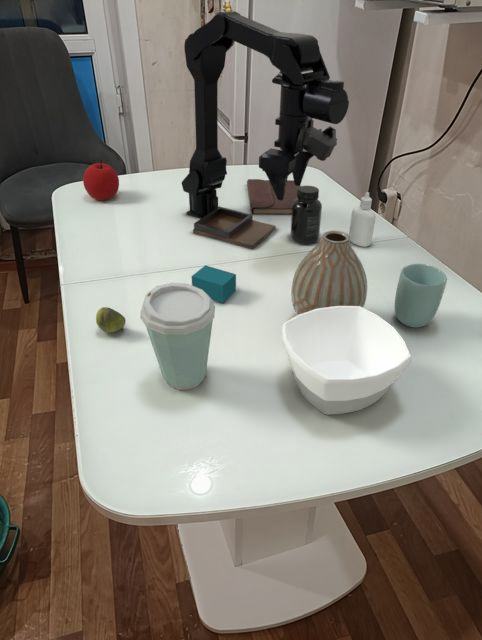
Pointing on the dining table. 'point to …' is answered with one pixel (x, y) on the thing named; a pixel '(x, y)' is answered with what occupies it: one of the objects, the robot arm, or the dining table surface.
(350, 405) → the bowl
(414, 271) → the cup
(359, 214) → the eye dropper bottle
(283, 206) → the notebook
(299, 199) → the supplement bottle
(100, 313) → the lime
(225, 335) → the dining table surface
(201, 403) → the dining table surface
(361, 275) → the vase
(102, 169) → the apple
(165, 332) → the disposable coffee cup
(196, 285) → the block
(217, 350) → the dining table surface
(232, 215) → the brown wooden tray
